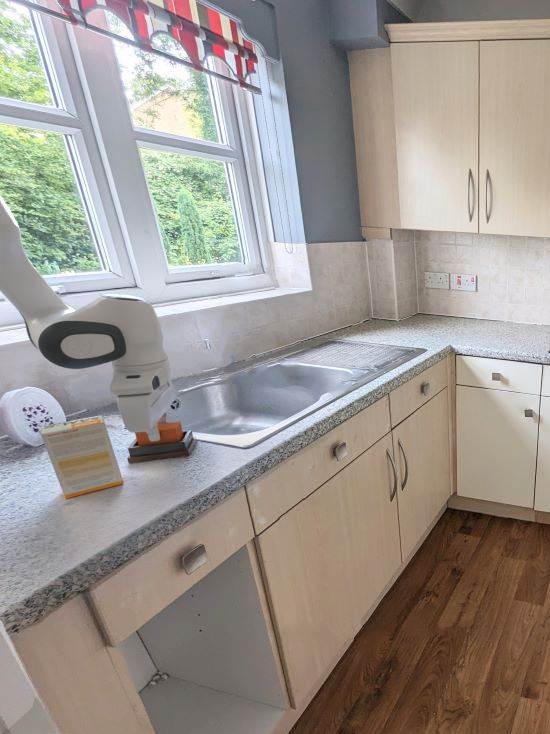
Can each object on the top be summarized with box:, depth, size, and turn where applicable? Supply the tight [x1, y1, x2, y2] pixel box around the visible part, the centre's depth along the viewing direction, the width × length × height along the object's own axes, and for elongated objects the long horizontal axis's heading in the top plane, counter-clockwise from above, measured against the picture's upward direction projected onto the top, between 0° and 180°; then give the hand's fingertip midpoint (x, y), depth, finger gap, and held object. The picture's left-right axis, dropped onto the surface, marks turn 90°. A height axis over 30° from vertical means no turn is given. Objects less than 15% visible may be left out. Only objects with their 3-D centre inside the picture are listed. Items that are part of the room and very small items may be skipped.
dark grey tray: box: [127, 429, 198, 464], centre depth 99 cm, size 10×8×3 cm
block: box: [134, 421, 184, 446], centre depth 98 cm, size 7×4×4 cm, turn 114°
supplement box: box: [40, 414, 124, 499], centre depth 83 cm, size 8×5×13 cm, turn 134°
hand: (159, 434), depth 98 cm, fingers closed on block, 4 cm apart
